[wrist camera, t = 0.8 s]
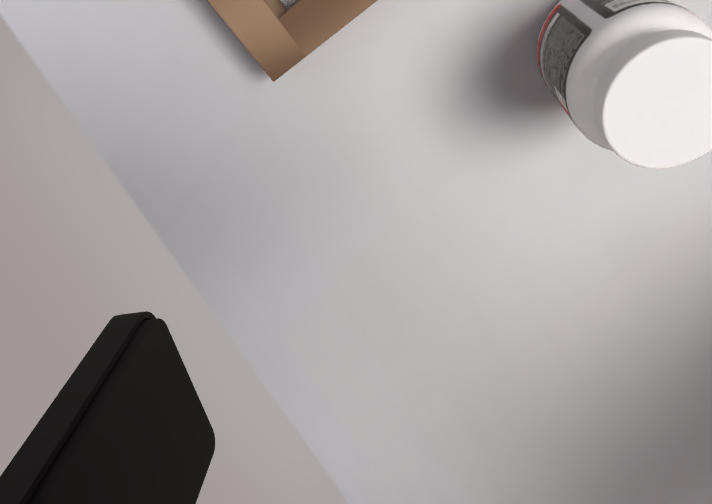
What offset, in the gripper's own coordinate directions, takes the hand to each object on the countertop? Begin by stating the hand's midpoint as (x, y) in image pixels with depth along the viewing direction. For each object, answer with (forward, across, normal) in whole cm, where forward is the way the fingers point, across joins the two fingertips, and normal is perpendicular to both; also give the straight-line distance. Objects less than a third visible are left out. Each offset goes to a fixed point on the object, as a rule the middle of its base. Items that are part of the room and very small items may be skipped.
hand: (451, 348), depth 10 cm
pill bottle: (+24, -8, +2) cm, 25 cm away
